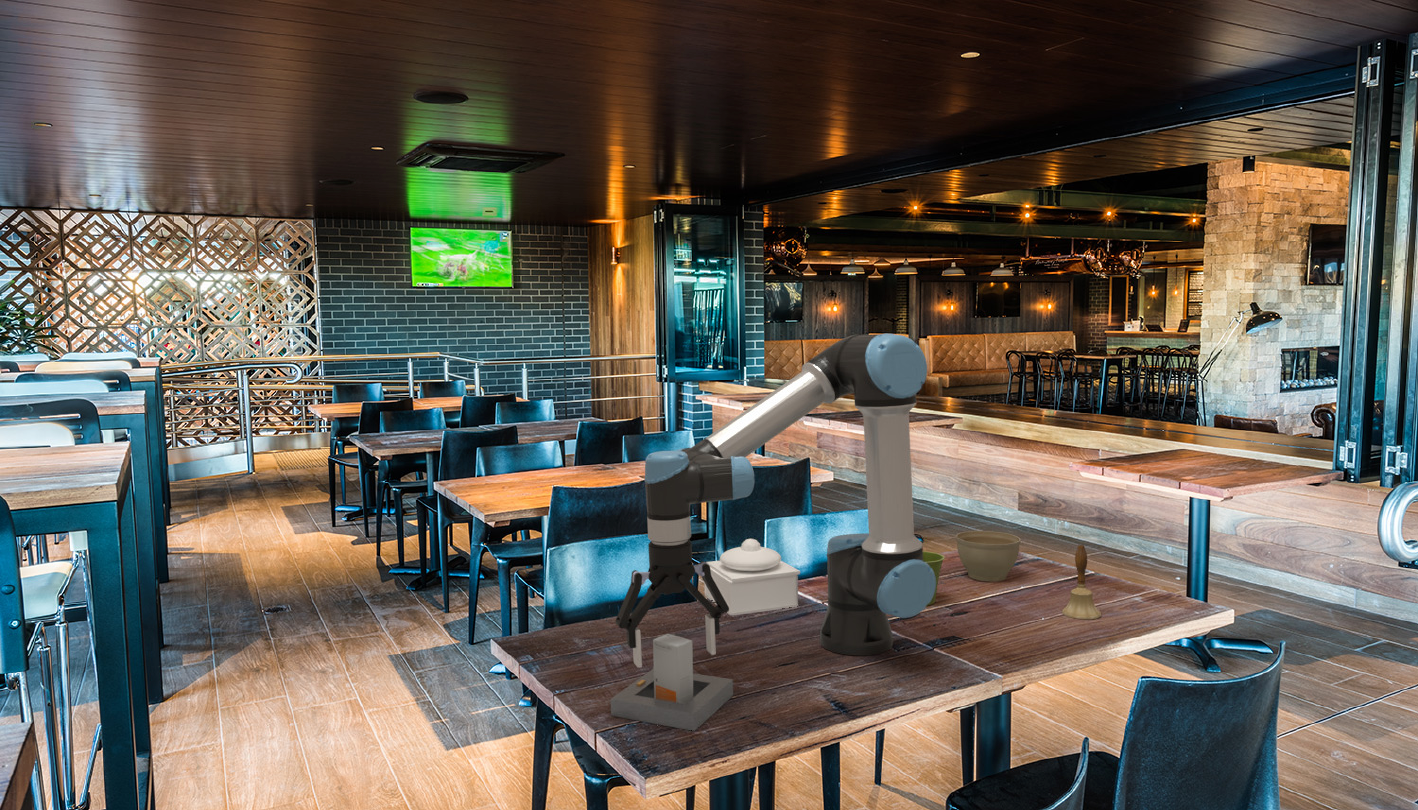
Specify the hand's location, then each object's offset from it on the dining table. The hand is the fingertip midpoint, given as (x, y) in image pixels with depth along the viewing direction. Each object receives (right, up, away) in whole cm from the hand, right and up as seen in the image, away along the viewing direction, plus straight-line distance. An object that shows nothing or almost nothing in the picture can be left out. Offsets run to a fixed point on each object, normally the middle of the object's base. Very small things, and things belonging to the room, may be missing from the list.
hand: (675, 658), depth 161 cm
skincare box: (0, -9, +1) cm, 9 cm away
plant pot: (+57, -3, +59) cm, 82 cm away
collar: (0, -8, +1) cm, 8 cm away
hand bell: (+91, -3, +47) cm, 102 cm away
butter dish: (+16, -4, +62) cm, 64 cm away
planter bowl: (+79, -1, +79) cm, 112 cm away
